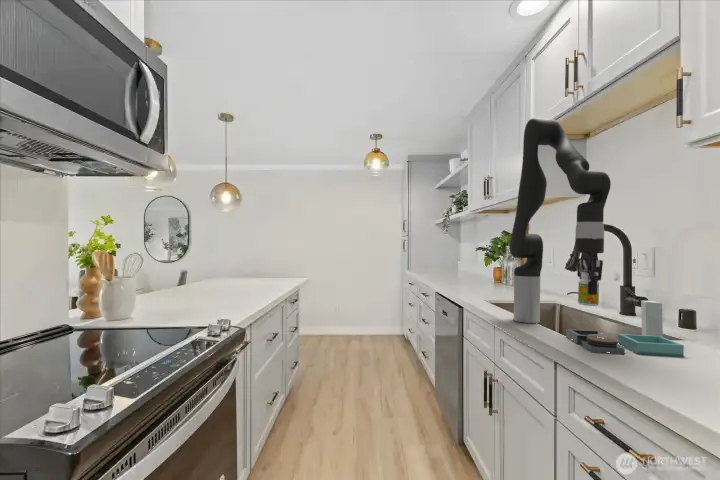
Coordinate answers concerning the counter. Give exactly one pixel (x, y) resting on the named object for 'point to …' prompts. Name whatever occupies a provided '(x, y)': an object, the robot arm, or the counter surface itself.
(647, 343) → the tray
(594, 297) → the supplement bottle
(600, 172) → the robot arm
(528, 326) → the counter surface
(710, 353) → the counter surface
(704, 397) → the counter surface
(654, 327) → the skincare box
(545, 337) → the counter surface
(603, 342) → the bracket
